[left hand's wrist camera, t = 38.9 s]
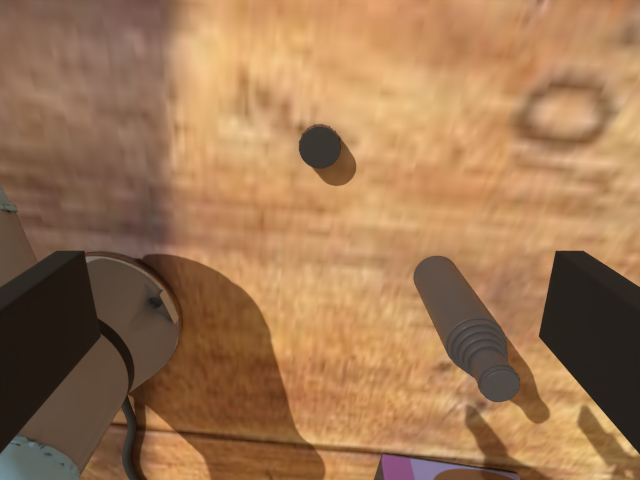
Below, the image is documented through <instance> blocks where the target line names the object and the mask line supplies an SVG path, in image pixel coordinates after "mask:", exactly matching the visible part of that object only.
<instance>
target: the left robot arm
mask: <svg viewBox="0 0 640 480" xmlns="http://www.w3.org/2000/svg"><path fill="white" fill-rule="evenodd" d="M16 212H18V211H17V208H16V206H15V205H14V204H12V203H10V201H9V199H8V197H7V195H6V194H5V192H4V190H3V188H2V186H1V185H0V480H78V479H79V477H80V475H81V474H82V472H83V470H84V469H85V467H86V465H87V463H88V462H89V460H90V458H91V457H92V455H93V453H94V451H95V450H96V448H97V446H98V445H99V443H100V441H101V439H102V438H103V436H104V434H105V433H106V431H107V429H108V427H109V426H110V424H111V422H112V421H113V419H114V417H115V415H116V414H117V412H118V410H119V409H120V407H122V410H123V412H124V414H125V417H126V419H127V424H128V433H127V438H126V441H125V445H124V448H123V454H122V461H123V466H124V469H125V472H126V474H127V476H128V478H129V479H130V480H140V478H139V477H138V475H137V474H136V472H135V470H134V468H133V465H132V461H131V450H132V446H133V442H134V439H135V435H136V429H137V423H136V417H135V414H134V412H133V409H132V407H131V404H130V401H129V398H128V393H130V392H131V391H133V390H134V389H135V388H137V387H138V386H139V385H141V384H142V383H144V382H145V381H146V380H148V379H149V378H150V377H152V376H153V375H154V374H156V373H157V372H158V371H159V370H160V369H161V368H163V367H164V365H165V364H166V363H167V362H168V361H169V359H170V358H171V356H172V355H173V353H174V351H175V349H176V347H177V345H178V343H179V340H180V337H181V333H182V314H181V309H180V306H179V303H178V300H177V298H176V296H175V294H174V293H173V291H172V289H171V288H170V287H169V285H168V284H167V283H166V282H165V280H164V279H163V278H162V277H161V276H160V275H159V274H157V273H156V272H155V271H154V270H153V269H151V268H150V267H148V266H147V265H145V264H144V263H142V262H140V261H138V260H136V259H133V258H131V257H128V256H125V255H122V254H118V253H112V252H102V251H100V252H87V253H84V251H56V252H54V253H53V254H51V255H49V256H48V257H46V258H45V259H43V260H42V261H40V262H39V263H38V261H37V259H36V257H35V255H34V253H33V250H32V248H31V246H30V244H29V241H28V239H27V237H26V235H25V232H24V230H23V228H22V226H21V223H20V221H19V219H18V217H17V214H16ZM539 337H540V338H541V340H542V341H543V342H544V343H545V344H546V345H547V347H548V348H549V349H550V350H551V351H552V352H553V354H554V355H555V356H556V357H557V358H558V359H559V361H560V362H561V363H562V364H563V365H564V366H565V368H566V369H567V370H568V371H569V372H570V373H571V375H572V376H573V377H574V378H575V379H576V380H577V382H578V383H579V384H580V385H581V386H582V387H583V389H584V390H585V391H586V392H587V393H588V394H589V396H590V397H591V398H592V399H593V400H594V401H595V403H596V404H597V405H598V406H599V407H600V408H601V410H602V411H603V412H604V413H605V414H606V415H607V417H608V418H609V419H610V420H611V421H612V422H613V424H614V425H615V426H616V427H617V428H618V429H619V430H620V432H621V433H622V434H623V435H624V436H625V437H626V439H627V440H628V441H629V442H630V443H631V444H632V446H633V447H634V448H635V449H636V450H637V451H638V453H639V454H640V287H639V286H637V285H636V284H634V283H633V282H631V281H629V280H628V279H626V278H625V277H623V276H622V275H620V274H619V273H617V272H615V271H614V270H612V269H611V268H609V267H608V266H606V265H605V264H603V263H601V262H600V261H598V260H597V259H595V258H594V257H592V256H591V255H589V254H587V253H586V252H584V251H556V253H555V258H554V263H553V268H552V273H551V278H550V283H549V288H548V293H547V298H546V303H545V308H544V313H543V318H542V323H541V328H540V333H539Z"/></svg>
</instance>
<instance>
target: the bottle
mask: <svg viewBox="0 0 640 480" xmlns="http://www.w3.org/2000/svg"><path fill="white" fill-rule="evenodd" d="M414 283H415V286H416V288H417V290H418V292H419V294H420V296H421V298H422V301H423V303H424V305H425V307H426V309H427V311H428V313H429V315H430V318H431V320H432V322H433V324H434V326H435V328H436V330H437V333H438V335H439V337H440V339H441V341H442V343H443V345H444V348H445V350H446V352H447V354H448V356H449V357H450V359H451V360H452V361H453V362H454V363H455V364H456V365H457V366H458V367H460V368H461V369H462V370H464V371H465V372H467V373H468V374H470V375H471V376H472V377H474V378H475V379H476V381H477V383H478V388H479V390H480V392H481V393H482V394H483V395H484V396H485V397H486V398H487V399H489V400H491V401H494V402H503V401H507V400H509V399H511V398H512V397H514V396H515V395H516V394H517V392H518V390H519V388H520V378H519V376H518V374H517V373H516V372H515V370H514V369H513V368H512V367H511V366H510V365H509V363H508V357H507V346H506V338H505V336H504V333H503V330H502V329H501V327H500V326H499V324H498V323H497V322H496V320H495V319H494V318H493V316H492V315H491V313H490V312H489V311H488V309H487V308H486V307H485V305H484V304H483V303H482V301H481V300H480V299H479V297H478V296H477V294H476V293H475V292H474V290H473V289H472V288H471V286H470V285H469V284H468V282H467V281H466V279H465V278H464V277H463V275H462V274H461V273H460V271H459V270H458V269H457V267H456V266H455V264H454V263H453V262H452V261H451V260H449V259H448V258H446V257H442V256H433V257H429V258H427V259H425V260H423V261H422V262H421V263H420V264H419V265H418V266H417V268H416V270H415V272H414Z"/></svg>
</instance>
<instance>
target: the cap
mask: <svg viewBox="0 0 640 480" xmlns="http://www.w3.org/2000/svg"><path fill="white" fill-rule="evenodd" d="M340 148H341V146H340V139H339V138H338V136H337V134H336V131H334V130H333V129H332V128H330V126H326V125H323V124H322V125H321V124H318V125H313V126H311V127H309V128H307V130H306V131H305V132H304V133H303V134H302V137H301V140H300V141H299V151H300V155H301V157H302V159H303V160H304V161H305V162H306V163H307V164H308V165H310V166H312V167H314V168H325V167H328V166H330V165H332V164H333V163H334V162H335V161H336V160H337V158H338V156H339V154H340Z"/></svg>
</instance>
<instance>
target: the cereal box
mask: <svg viewBox="0 0 640 480" xmlns="http://www.w3.org/2000/svg"><path fill="white" fill-rule="evenodd" d="M374 480H520V478H519V476H518V474H517V473H516V472H509V471H502V470H495V469H489V468H482V467H475V466H468V465H461V464H455V463H448V462H441V461H434V460H427V459H420V458H414V457H407V456H400V455H393V454H386V453H382V456H381V459H380V462H379V466H378V469H377V472H376V475H375V479H374Z"/></svg>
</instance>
